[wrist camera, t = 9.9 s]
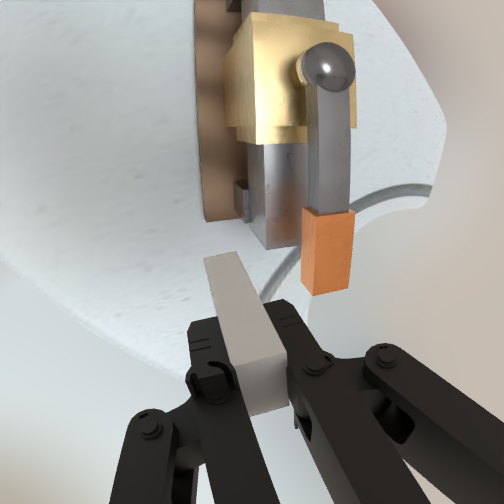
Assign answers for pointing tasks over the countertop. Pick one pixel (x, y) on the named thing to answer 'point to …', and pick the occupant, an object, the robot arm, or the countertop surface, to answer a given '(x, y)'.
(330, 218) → the valve lever
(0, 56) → the countertop surface
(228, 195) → the base board
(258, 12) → the valve
